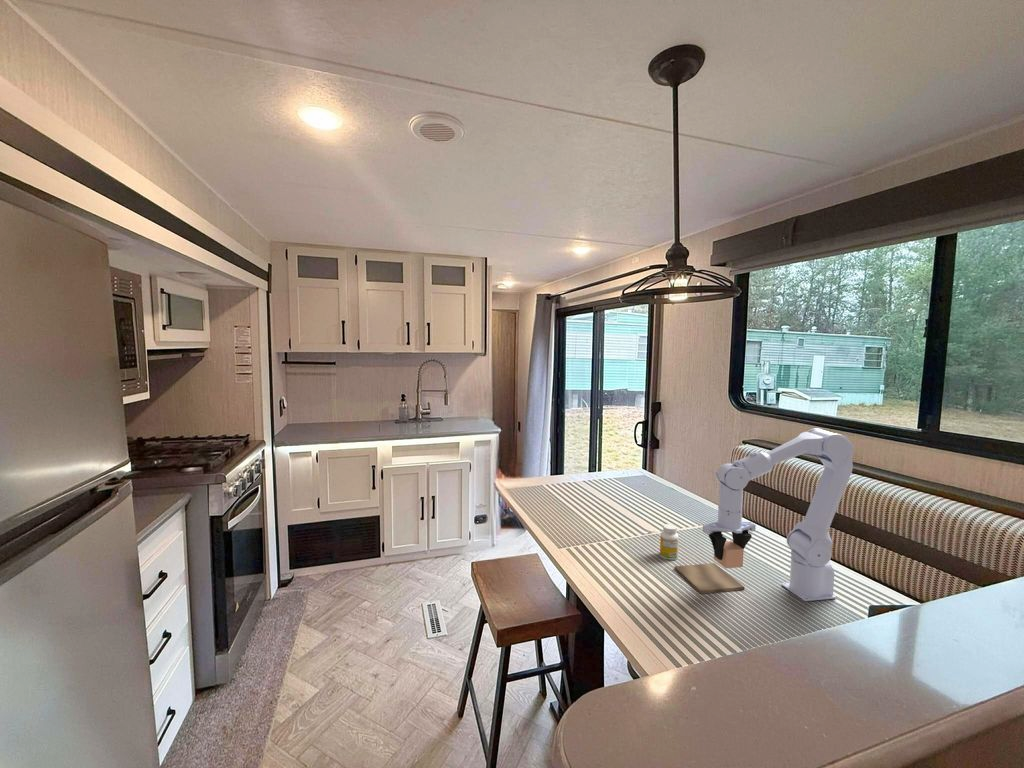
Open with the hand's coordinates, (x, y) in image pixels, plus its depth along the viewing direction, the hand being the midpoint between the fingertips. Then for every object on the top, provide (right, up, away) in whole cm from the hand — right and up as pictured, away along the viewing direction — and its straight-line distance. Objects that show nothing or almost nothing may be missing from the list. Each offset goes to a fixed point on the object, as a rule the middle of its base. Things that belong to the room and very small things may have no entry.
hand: (727, 557), depth 113 cm
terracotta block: (0, -2, 0) cm, 2 cm away
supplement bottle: (-9, -7, +18) cm, 22 cm away
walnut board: (-3, -8, +5) cm, 10 cm away
